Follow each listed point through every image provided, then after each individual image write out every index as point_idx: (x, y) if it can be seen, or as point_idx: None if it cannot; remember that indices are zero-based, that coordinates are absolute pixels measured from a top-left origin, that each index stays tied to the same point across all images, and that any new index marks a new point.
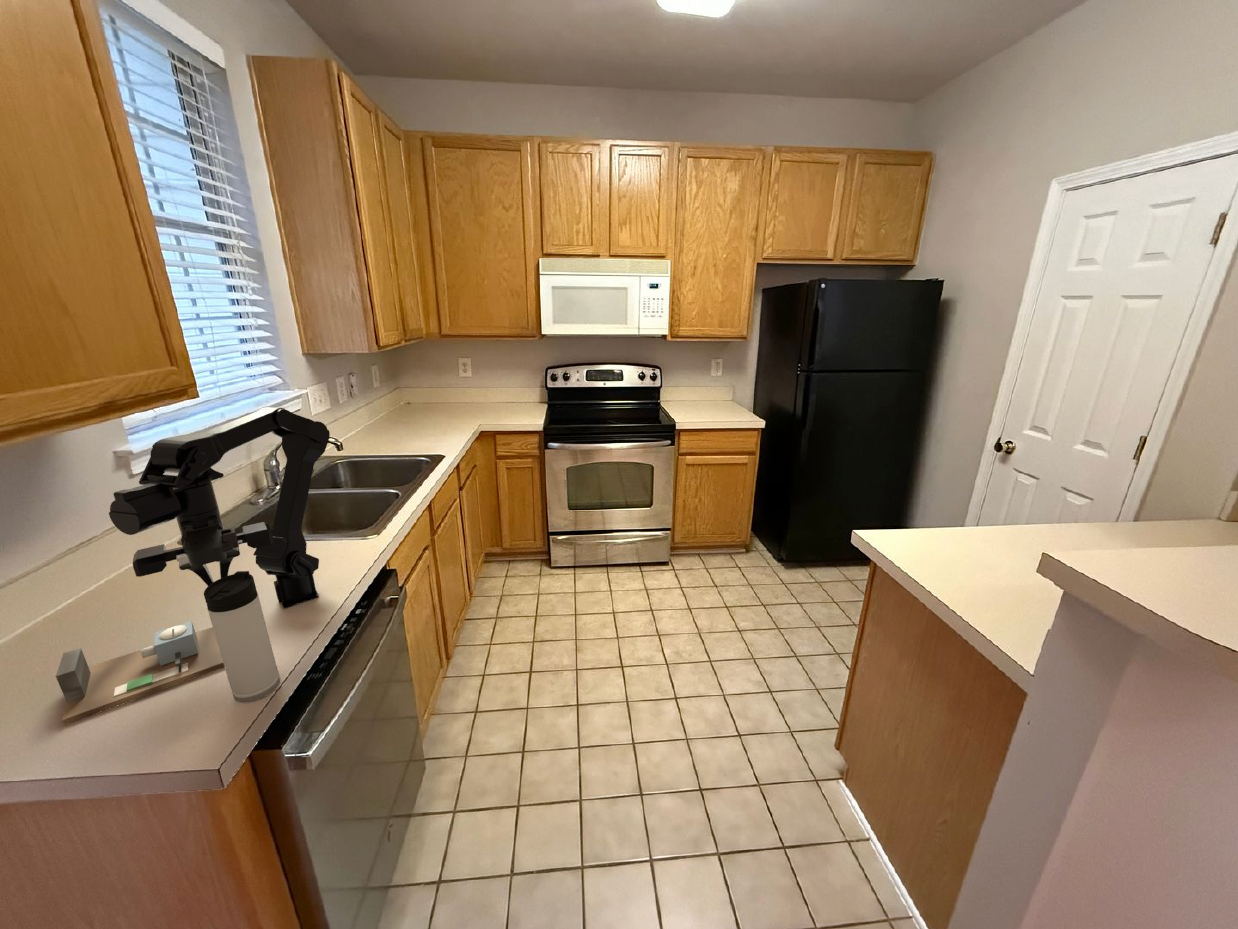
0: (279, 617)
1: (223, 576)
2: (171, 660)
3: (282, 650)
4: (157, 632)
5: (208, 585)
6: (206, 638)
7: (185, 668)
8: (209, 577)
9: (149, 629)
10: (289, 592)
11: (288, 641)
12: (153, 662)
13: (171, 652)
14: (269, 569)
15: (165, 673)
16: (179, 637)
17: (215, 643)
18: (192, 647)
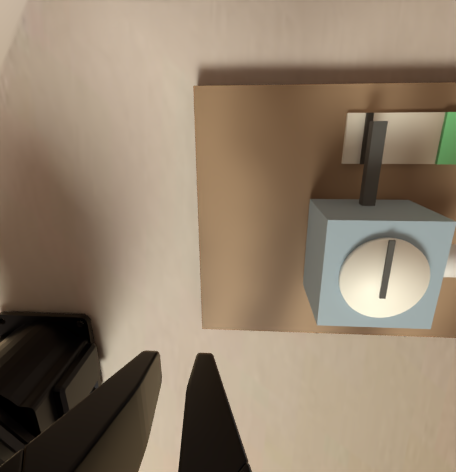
0: (102, 278)
1: (85, 423)
2: (381, 200)
3: (90, 62)
4: (425, 320)
5: (219, 393)
6: (280, 279)
7: (352, 128)
8: (182, 457)
9: (386, 433)
10: (43, 352)
11: (74, 110)
12: None
13: (387, 208)
14: (6, 460)
15: (404, 142)
16: (370, 225)
17: (262, 230)
18: (326, 205)
